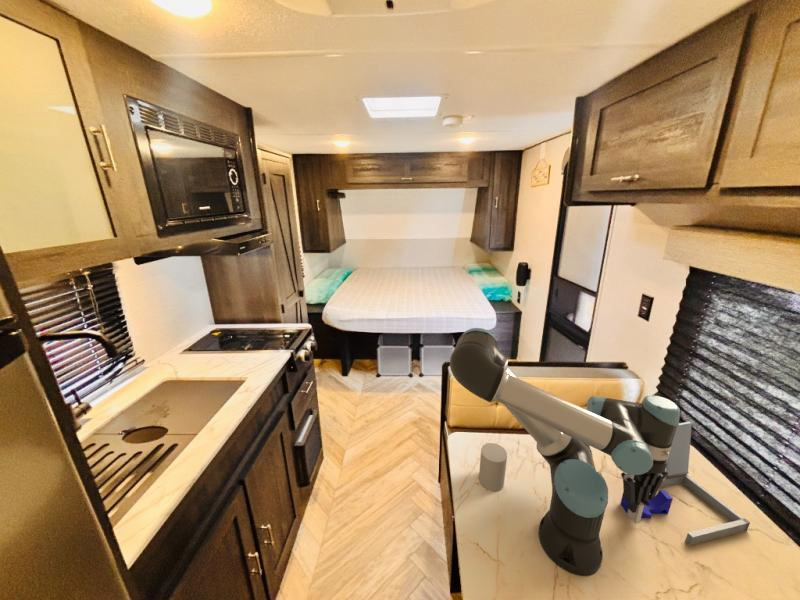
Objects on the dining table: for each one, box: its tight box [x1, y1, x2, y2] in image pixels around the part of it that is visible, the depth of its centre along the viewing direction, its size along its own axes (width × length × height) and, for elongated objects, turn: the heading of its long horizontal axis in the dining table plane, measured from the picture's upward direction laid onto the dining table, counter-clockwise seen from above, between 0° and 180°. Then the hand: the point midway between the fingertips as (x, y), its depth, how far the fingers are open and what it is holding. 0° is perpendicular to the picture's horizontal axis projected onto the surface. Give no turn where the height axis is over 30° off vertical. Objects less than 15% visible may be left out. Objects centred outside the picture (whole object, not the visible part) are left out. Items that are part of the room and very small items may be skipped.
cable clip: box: [619, 489, 673, 519], centre depth 92 cm, size 12×4×6 cm, turn 88°
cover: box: [665, 421, 693, 478], centre depth 100 cm, size 8×18×2 cm
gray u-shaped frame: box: [659, 474, 751, 546], centre depth 93 cm, size 20×17×3 cm
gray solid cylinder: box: [478, 442, 508, 493], centre depth 101 cm, size 8×8×12 cm
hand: (633, 518), depth 89 cm, fingers closed
